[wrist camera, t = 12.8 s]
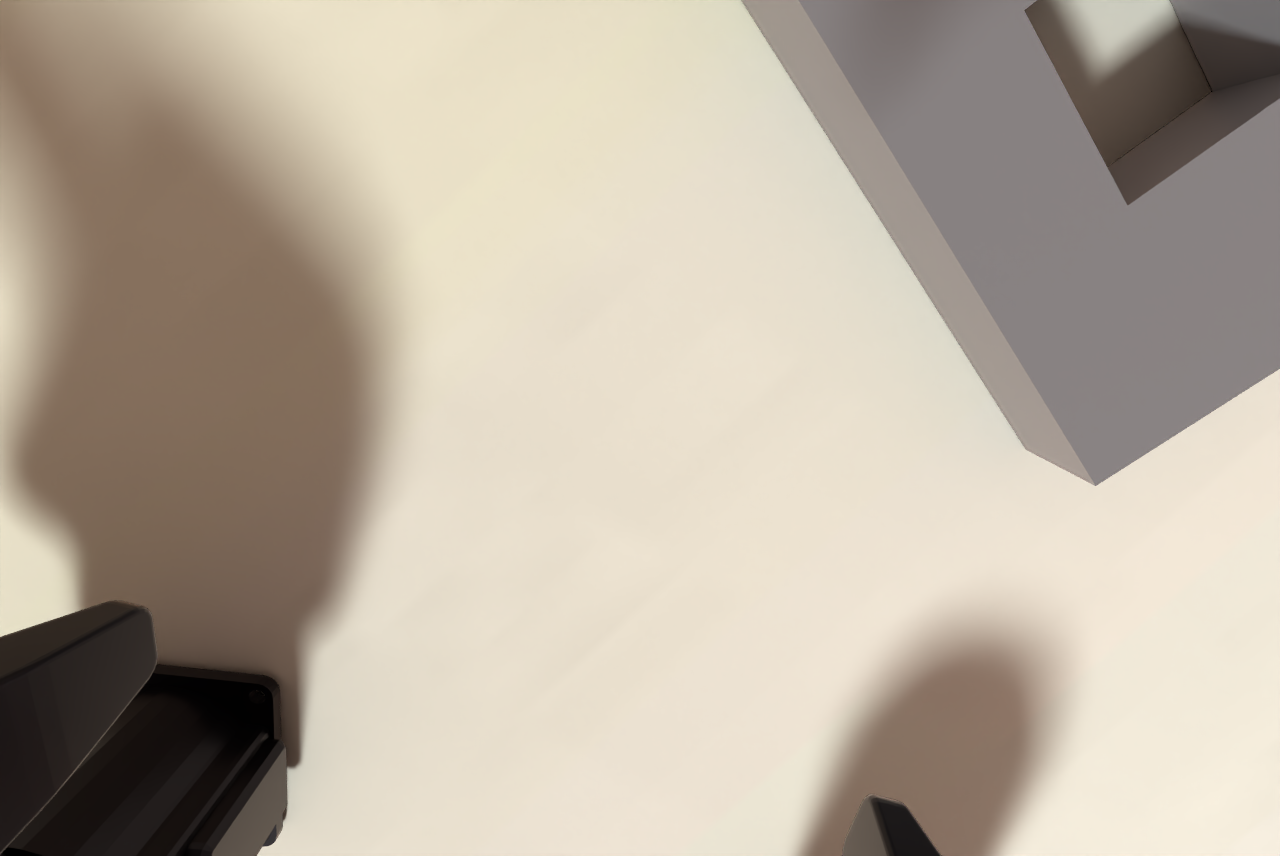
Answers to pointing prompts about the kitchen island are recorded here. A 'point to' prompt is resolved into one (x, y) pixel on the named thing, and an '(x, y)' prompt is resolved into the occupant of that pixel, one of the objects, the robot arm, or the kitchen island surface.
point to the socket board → (1062, 210)
